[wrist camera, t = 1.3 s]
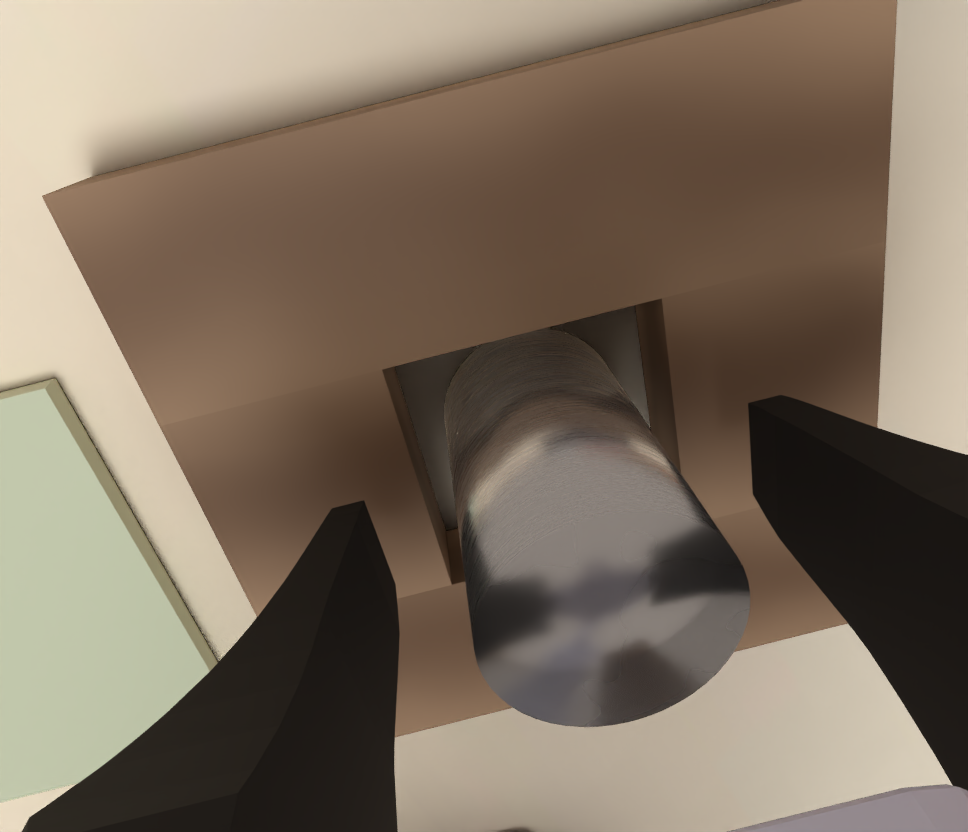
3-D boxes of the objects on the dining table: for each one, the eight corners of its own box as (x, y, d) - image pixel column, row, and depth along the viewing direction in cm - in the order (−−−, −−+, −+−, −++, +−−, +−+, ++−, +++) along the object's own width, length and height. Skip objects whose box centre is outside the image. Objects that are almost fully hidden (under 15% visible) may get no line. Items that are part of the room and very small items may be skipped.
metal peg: (626, 460, 17) (755, 689, 11) (467, 501, 17) (505, 752, 11) (602, 308, 15) (743, 478, 9) (424, 353, 15) (442, 555, 9)
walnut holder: (825, 566, 19) (868, 617, 18) (333, 690, 19) (327, 754, 18) (829, -13, 13) (897, -24, 11) (90, 177, 13) (41, 196, 11)
